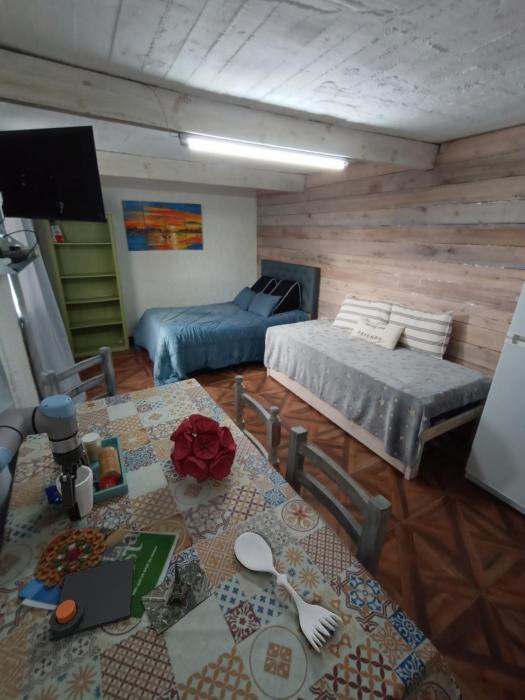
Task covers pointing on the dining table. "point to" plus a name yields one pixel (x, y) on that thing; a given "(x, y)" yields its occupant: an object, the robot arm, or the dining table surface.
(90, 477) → the foam cup
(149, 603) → the eiffel tower figurine
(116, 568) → the scale
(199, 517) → the dining table surface
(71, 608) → the tare button
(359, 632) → the dining table surface
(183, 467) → the bouquet
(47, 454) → the dining table surface
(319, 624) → the spoon
